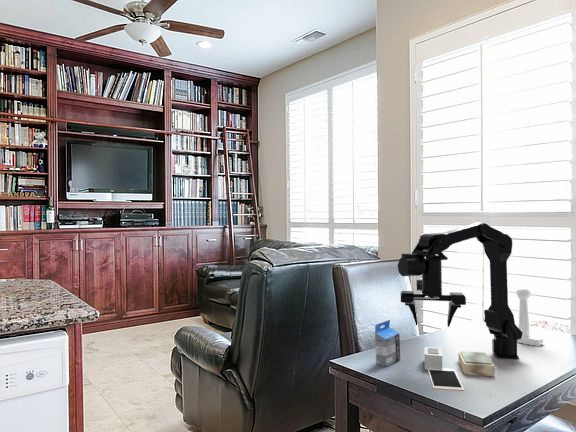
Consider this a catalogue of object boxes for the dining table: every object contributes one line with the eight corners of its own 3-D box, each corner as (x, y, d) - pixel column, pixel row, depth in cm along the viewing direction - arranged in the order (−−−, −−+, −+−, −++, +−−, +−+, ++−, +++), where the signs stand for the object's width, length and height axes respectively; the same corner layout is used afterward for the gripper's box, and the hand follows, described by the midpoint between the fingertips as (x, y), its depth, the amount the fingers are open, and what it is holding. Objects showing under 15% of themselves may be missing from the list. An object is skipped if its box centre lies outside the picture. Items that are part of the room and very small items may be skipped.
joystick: (505, 340, 157) (504, 285, 157) (514, 336, 162) (513, 283, 162) (538, 346, 148) (537, 289, 148) (546, 342, 153) (545, 286, 153)
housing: (441, 362, 134) (441, 347, 134) (442, 371, 126) (442, 355, 126) (424, 361, 135) (424, 346, 135) (424, 369, 128) (424, 353, 128)
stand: (486, 362, 132) (486, 351, 132) (494, 376, 121) (494, 364, 121) (458, 360, 134) (458, 350, 134) (464, 374, 123) (464, 362, 123)
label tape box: (386, 367, 129) (386, 326, 129) (375, 364, 132) (374, 324, 132) (400, 360, 136) (400, 321, 136) (389, 357, 139) (388, 319, 139)
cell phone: (454, 371, 127) (454, 368, 127) (464, 392, 111) (464, 389, 111) (427, 369, 128) (427, 367, 128) (433, 390, 113) (433, 387, 113)
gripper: (460, 272, 137) (461, 321, 136) (400, 271, 141) (400, 318, 141) (465, 276, 126) (466, 330, 126) (400, 275, 131) (400, 326, 130)
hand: (432, 325), depth 131 cm, fingers open, 9 cm apart
